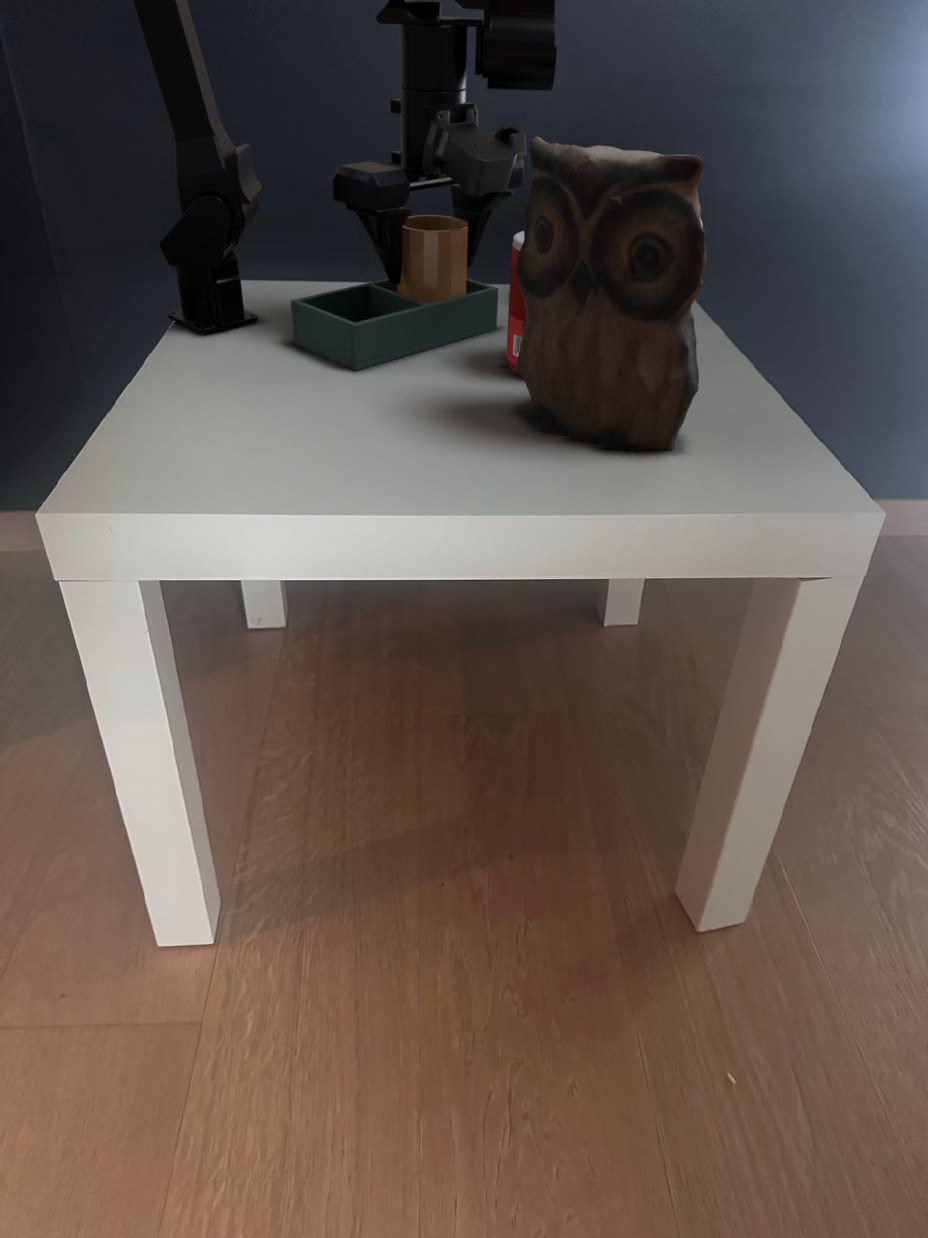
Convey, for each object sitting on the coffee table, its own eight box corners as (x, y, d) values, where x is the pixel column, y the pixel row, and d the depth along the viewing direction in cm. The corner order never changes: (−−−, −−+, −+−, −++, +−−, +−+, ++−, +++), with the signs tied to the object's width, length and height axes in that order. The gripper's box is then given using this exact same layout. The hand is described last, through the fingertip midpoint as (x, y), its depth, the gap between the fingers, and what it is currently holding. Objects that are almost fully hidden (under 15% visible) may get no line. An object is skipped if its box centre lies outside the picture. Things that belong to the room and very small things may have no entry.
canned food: (598, 384, 80) (614, 251, 73) (506, 381, 80) (514, 248, 73) (589, 353, 86) (603, 228, 80) (504, 350, 86) (511, 225, 80)
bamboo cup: (384, 318, 91) (382, 221, 85) (433, 305, 94) (434, 211, 89) (429, 335, 87) (430, 234, 82) (479, 321, 91) (482, 224, 85)
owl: (691, 457, 68) (747, 160, 57) (523, 459, 67) (545, 157, 56) (648, 392, 79) (688, 129, 67) (502, 393, 77) (516, 126, 66)
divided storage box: (293, 343, 86) (290, 300, 84) (433, 306, 96) (433, 267, 94) (355, 370, 81) (354, 325, 78) (496, 329, 91) (498, 287, 89)
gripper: (414, 105, 69) (415, 314, 78) (575, 91, 80) (559, 276, 89) (323, 90, 75) (334, 285, 85) (483, 78, 86) (477, 252, 95)
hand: (431, 274), depth 88 cm, fingers open, 9 cm apart
